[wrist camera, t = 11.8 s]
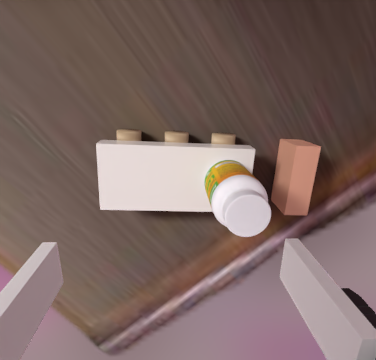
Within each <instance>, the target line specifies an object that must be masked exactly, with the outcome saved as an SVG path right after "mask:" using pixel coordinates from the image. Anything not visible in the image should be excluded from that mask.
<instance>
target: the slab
mask: <svg viewBox="0 0 376 360" xmlns="http://www.w3.org/2000/svg"><path fill="white" fill-rule="evenodd" d="M96 149H97V166H98V182H99V199H100V210H144V211H193V212H213V211H212V208H211V205H210V202H209V199H208V196H207V193H206V190H205V186H204V179H205V175H206V173H207V171H208V169H209V168H210V167H211V166H212V165H213V164H215V163H216V162H218V161H221V160H226V159H230V160H235V161H238V162H239V163H241V164H242V165H243V166H244V167H245V168H246V169H247V170H248V171H249V172H250V173H251V174H252V172H253V164H254V156H255V149H254V148H253V147H251V146H250V145H227V144H200V143H174V142H147V141H120V140H101V141H99V142H98V143H96Z"/></svg>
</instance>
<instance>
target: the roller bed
mask: <svg viewBox="0 0 376 360" xmlns="http://www.w3.org/2000/svg"><path fill="white" fill-rule="evenodd" d="M235 136H236V135H234V134H230V133H212V141H211V144H227V145H235ZM188 139H189V133H188V132H183V131H166V132H165V142H174V143H188ZM117 140H120V141H141V130H136V129H120V130H117Z"/></svg>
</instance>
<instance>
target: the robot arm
mask: <svg viewBox="0 0 376 360" xmlns="http://www.w3.org/2000/svg"><path fill="white" fill-rule="evenodd" d="M280 279H281V281H282V283H283V284H284V286H285V288H286V290H287V291H288V293H289V295H290V296H291V298H292V300H293V302H294V303H295V305H296V307H297V309H298V310H299V312H300V314H301V316H302V317H303V319H304V321H305V323H306V324H307V326H308V328H309V330H310V331H311V333H312V335H313V336H314V338H315V340H316V342H317V343H318V345H319V347H320V349H321V350H322V352H323V354H324V355H325V357H326V359H327V360H376V314H375V312H374V311H373V310H372V309H371V308H370V307H368V304H366V302H365V301H364V300H363V299H362V298H361V297H360V296H359V295H358V294H356V293H355V292H353V291H352V290H350V289H349V288H343V289H341V288H340V287H339V286H338V285H337V283H336V282H335V281H334V280H333V279H332V278H331V276H330V275H329V274H328V273H327V272H326V271H325V269H324V268H323V267H322V266H321V265H320V264H319V262H318V261H317V260H316V259H315V258H314V257H313V255H312V254H311V253H310V252H309V251H308V250H307V248H306V247H305V246H304V245H303V244H302V242H301V241H300V240H299V239H285V245H284V251H283V258H282V264H281V270H280ZM62 284H63V277H62V271H61V265H60V259H59V252H58V246H57V242H43V243H42V244H41V245H40V246H39V247H38V249H37V250H36V251H35V252H34V253H33V255H32V256H31V257H30V258H29V259H28V260H27V262H26V263H25V264H24V265H23V266H22V268H21V269H20V270H19V271H18V272H17V273H16V275H15V276H14V277H13V278H12V279H11V281H10V282H9V283H8V284H7V285H6V287H5V288H4V289H3V290H2V291H1V292H0V360H20V359H21V357H22V355H23V354H24V352H25V350H26V348H27V347H28V345H29V343H30V341H31V339H32V338H33V336H34V334H35V332H36V331H37V329H38V327H39V325H40V323H41V321H42V320H43V318H44V316H45V314H46V313H47V311H48V309H49V307H50V306H51V304H52V302H53V300H54V299H55V297H56V295H57V293H58V291H59V290H60V288H61V286H62Z"/></svg>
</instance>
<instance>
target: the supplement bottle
mask: <svg viewBox="0 0 376 360" xmlns="http://www.w3.org/2000/svg"><path fill="white" fill-rule="evenodd" d="M204 186H205V190H206V193H207V196H208V199H209V202H210V205H211V208H212V211H213V213H214V215H215V217H216V219H217V220H218V221H219V222H220V223H221V224H223V225H224V226H226V227H228V229H229V230H230V231H231V232H232V233H234V234H236V235H238V236H242V237H250V236H254V235H257V234H259V233H260V232H262V231H263V230H264V229H265V228H266V227H267V225H268V224H269V222H270V219H271V209H270V206H269V204H268V196H267V193H266V190H265V188H264V187H263V185H262V184H261V183H260V182H259V181H258V180H257V179H256V178H255V177H254V176H253V175H252V174H251V173H250V172H249V171H248V170H247V169H246V168H245V167H244V166H243V165H242V164H241V163H239V162H238V161H235V160H230V159H226V160H221V161H218V162H216V163H215V164H213V165H212V166H211V167H210V168H209V169H208V171H207V173H206V175H205V179H204Z"/></svg>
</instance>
